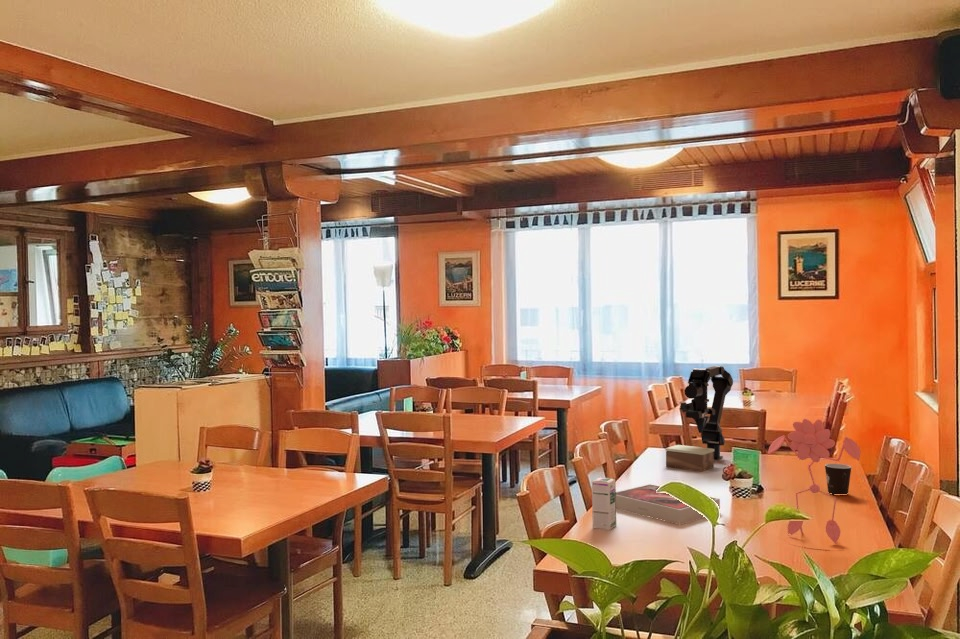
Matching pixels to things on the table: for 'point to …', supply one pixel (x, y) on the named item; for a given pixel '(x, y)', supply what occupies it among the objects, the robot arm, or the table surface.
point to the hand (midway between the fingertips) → (700, 432)
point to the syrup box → (604, 503)
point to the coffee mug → (838, 478)
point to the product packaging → (656, 504)
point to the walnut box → (689, 460)
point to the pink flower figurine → (814, 460)
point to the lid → (689, 449)
